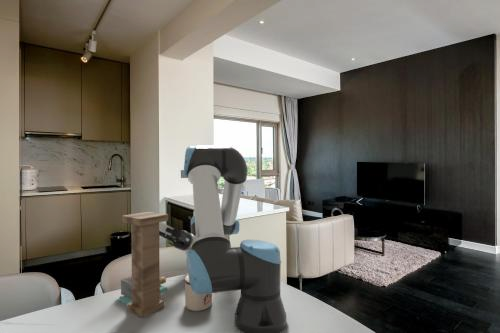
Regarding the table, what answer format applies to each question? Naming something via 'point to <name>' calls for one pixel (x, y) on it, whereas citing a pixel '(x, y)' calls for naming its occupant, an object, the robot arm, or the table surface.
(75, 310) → the table surface
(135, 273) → the stand
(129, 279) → the mallet
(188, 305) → the teacup with lid
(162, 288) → the mat
